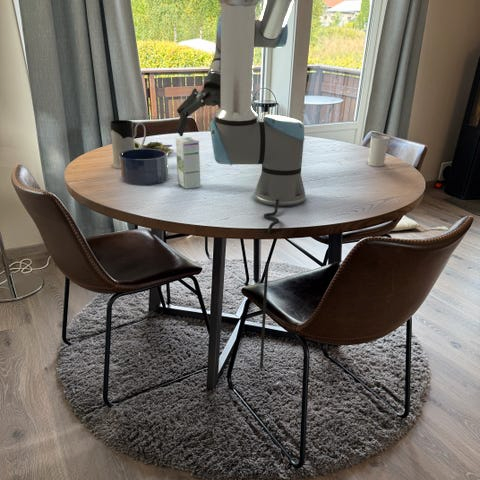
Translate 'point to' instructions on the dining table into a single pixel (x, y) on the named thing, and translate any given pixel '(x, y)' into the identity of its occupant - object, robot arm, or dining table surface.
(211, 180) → the dining table surface
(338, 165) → the dining table surface
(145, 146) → the salad plate
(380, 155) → the cream cylindrical container
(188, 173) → the syrup box
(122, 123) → the white black mug
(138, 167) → the pot
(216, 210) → the dining table surface
